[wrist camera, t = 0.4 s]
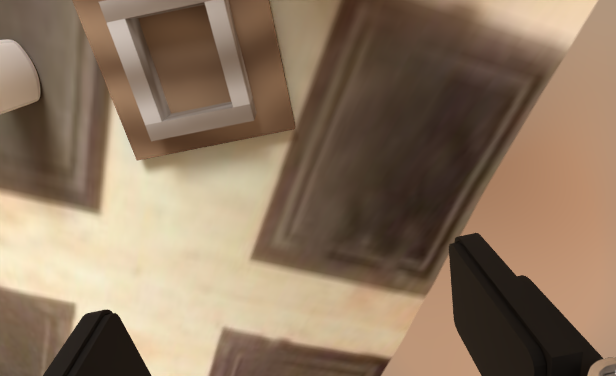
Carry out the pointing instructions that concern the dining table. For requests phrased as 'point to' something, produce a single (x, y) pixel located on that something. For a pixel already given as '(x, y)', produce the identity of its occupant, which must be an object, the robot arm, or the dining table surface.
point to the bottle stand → (189, 70)
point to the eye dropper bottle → (16, 77)
